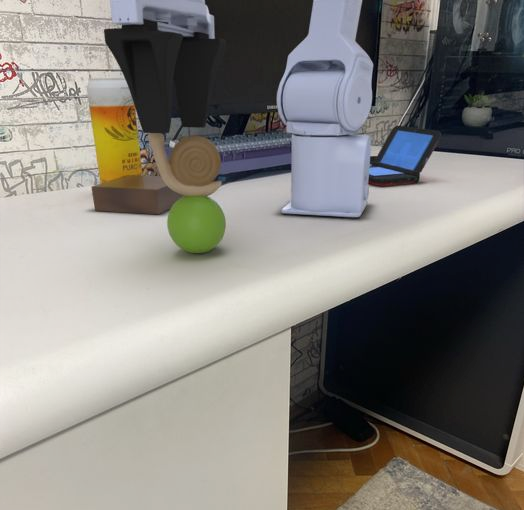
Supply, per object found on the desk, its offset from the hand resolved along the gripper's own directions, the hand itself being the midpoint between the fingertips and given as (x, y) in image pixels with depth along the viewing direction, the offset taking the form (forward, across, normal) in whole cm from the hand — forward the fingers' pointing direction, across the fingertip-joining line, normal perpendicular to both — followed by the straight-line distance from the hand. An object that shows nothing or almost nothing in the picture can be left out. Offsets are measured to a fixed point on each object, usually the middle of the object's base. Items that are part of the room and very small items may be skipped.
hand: (176, 130), depth 46 cm
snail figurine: (+11, 0, +1) cm, 11 cm away
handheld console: (+10, -46, +15) cm, 50 cm away
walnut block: (+11, -18, -14) cm, 25 cm away
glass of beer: (+11, -25, -21) cm, 34 cm away
